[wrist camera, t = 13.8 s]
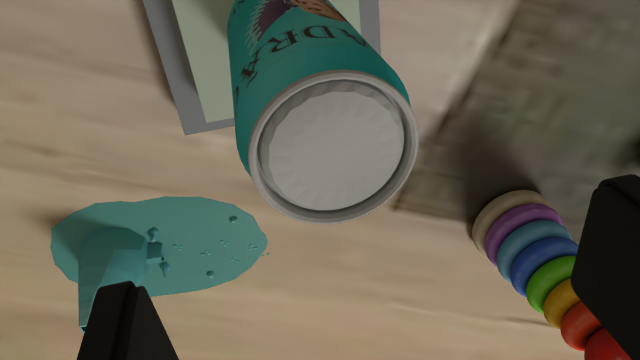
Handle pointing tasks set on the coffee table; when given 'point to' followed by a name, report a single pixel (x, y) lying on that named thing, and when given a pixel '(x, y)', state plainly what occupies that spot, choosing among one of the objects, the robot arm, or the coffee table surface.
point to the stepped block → (218, 54)
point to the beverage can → (316, 111)
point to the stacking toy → (541, 267)
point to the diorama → (155, 246)
